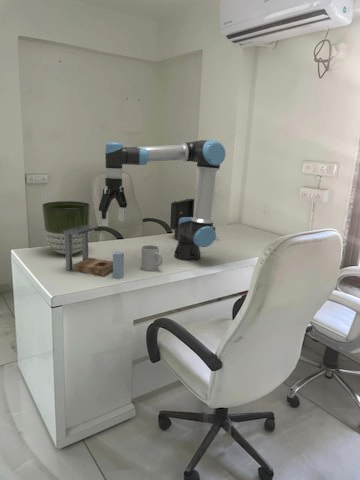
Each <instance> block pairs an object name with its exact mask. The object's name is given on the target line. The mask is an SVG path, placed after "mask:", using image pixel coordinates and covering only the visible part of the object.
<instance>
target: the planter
mask: <svg viewBox="0 0 360 480" xmlns="http://www.w3.org/2000/svg"><path fill="white" fill-rule="evenodd" d="M41 207H42V216H43V218H42V219H43V226H44V235H45V238H46V242H47V244H48V246H49V247H50V248H51V249H52V250H53V251H54V252H56V253H58V254H61V255H66V246H65V233H63V231H64V230H67V229H70V228H74V227H77V226H80V225H84V224H85V225H91V223H90V222H91V221H90V219H91V218H90V217H91V204H90V203H88V202H84V201H74V200H72V201H70V200H68V201H67V200H66V201H65V200H64V201H63V200H61V201H60V200H58V201H50V202H49V201H48V202H45V203H43V204H42V206H41ZM89 235H90V231H89V232H88V238H89ZM71 237H72V255H74V254H77V253H79V252H80V251H83V250H82V234H80V235H72V234H71Z"/></svg>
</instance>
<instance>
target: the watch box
mask: <svg viewBox="0 0 360 480" xmlns="http://www.w3.org/2000/svg"><path fill="white" fill-rule="evenodd" d="M194 209H195V198H189V197H188V198H186V199H182V200H174V201H173V202H171V203H170V222H169V223H170V228H169V229H170V230H173V231H174V238H176V239H178V229H179V225H178V224H179V219H180V218H183V217H194V215H195V210H194ZM213 229H214V230H215V231H216V227H215V226H213ZM216 237H217V238H219V236H218V235H216Z"/></svg>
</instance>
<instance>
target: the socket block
mask: <svg viewBox="0 0 360 480" xmlns="http://www.w3.org/2000/svg"><path fill="white" fill-rule="evenodd" d="M73 265H74V267H73V268H74V272H77V273H82V274H86V275H91V274H92V276H96V275H97V277H102V278H105V277H106V276H108V275H110V274H113V260H112V261H111V260H105V259H100V258H94V257H88V258H87V259H85V260H83V259H82V260H81V261H78V262H76V263H74V264H73Z"/></svg>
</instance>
